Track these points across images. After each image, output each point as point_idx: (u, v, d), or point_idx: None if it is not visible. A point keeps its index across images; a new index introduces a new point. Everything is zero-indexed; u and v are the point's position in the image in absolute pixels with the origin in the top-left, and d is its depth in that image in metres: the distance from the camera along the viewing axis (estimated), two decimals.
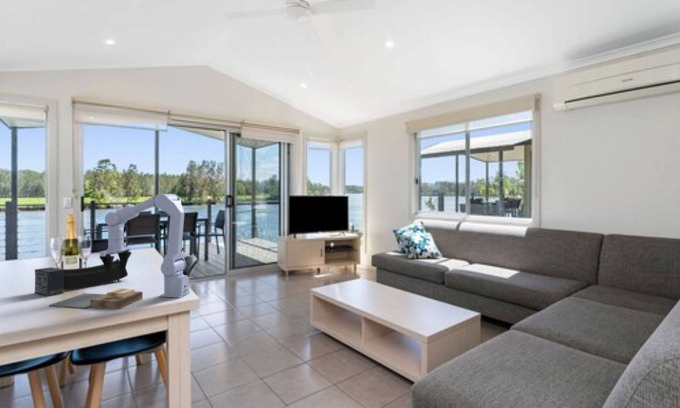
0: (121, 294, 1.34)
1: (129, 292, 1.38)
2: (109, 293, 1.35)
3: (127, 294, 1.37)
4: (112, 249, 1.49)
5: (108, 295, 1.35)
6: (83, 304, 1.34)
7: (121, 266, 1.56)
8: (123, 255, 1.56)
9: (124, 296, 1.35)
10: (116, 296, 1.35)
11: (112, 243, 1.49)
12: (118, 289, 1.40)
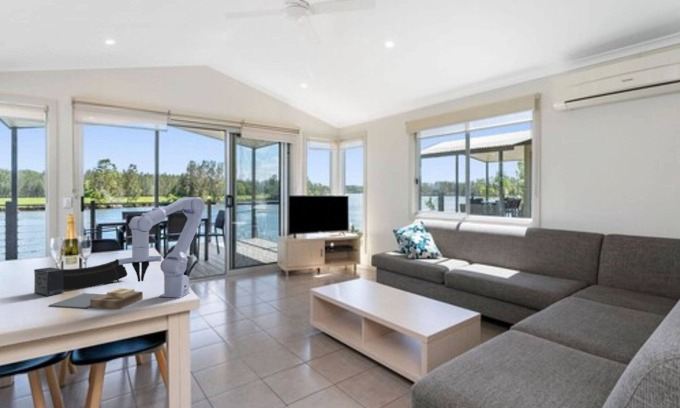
0: (121, 294, 1.34)
1: (129, 292, 1.38)
2: (109, 293, 1.35)
3: (127, 294, 1.37)
4: (132, 257, 1.34)
5: (108, 295, 1.35)
6: (83, 304, 1.34)
7: (141, 278, 1.37)
8: None
9: (124, 296, 1.35)
10: (116, 296, 1.35)
11: (132, 250, 1.34)
12: (118, 289, 1.40)
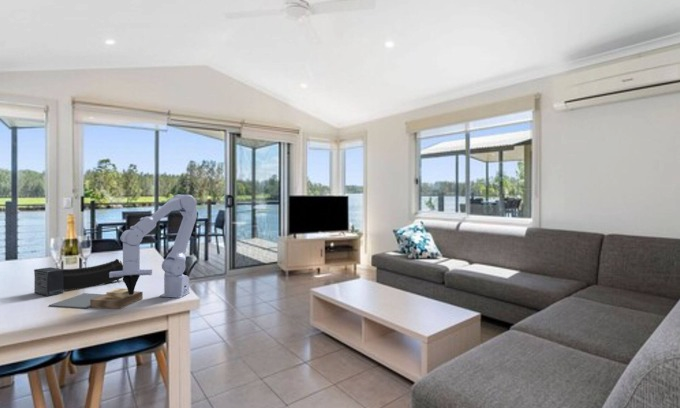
0: (120, 294, 1.35)
1: None
2: (108, 293, 1.35)
3: (126, 294, 1.37)
4: (122, 271, 1.35)
5: (107, 295, 1.35)
6: (83, 304, 1.34)
7: None
8: None
9: (123, 296, 1.35)
10: (115, 296, 1.35)
11: None
12: (117, 289, 1.40)
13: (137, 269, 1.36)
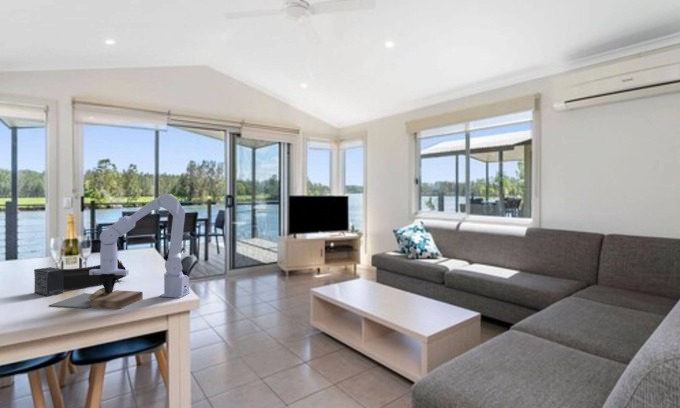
0: (99, 290, 1.37)
1: None
2: (89, 296, 1.37)
3: None
4: None
5: (89, 299, 1.37)
6: (83, 304, 1.34)
7: None
8: None
9: (102, 291, 1.37)
10: (96, 295, 1.37)
11: None
12: None
13: (112, 268, 1.37)
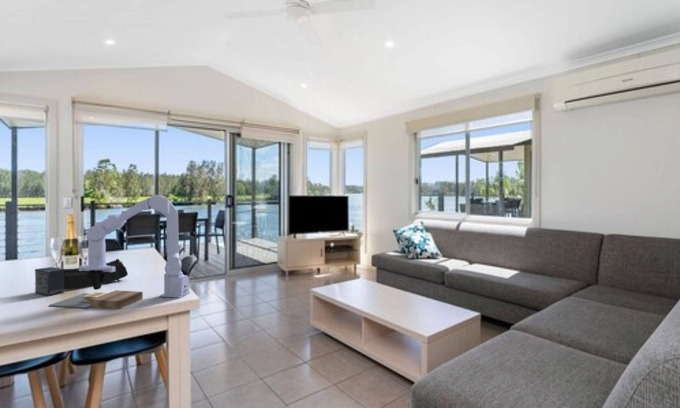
0: None
1: None
2: (84, 297, 1.38)
3: None
4: None
5: (83, 299, 1.38)
6: (83, 304, 1.34)
7: None
8: None
9: None
10: None
11: None
12: (94, 293, 1.42)
13: (99, 265, 1.37)
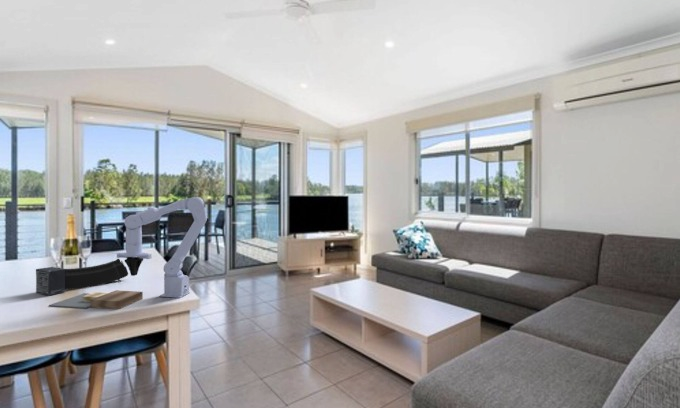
0: None
1: None
2: (84, 297, 1.38)
3: None
4: None
5: (83, 299, 1.38)
6: (83, 304, 1.34)
7: None
8: None
9: None
10: None
11: None
12: (94, 293, 1.42)
13: (136, 252, 1.44)
